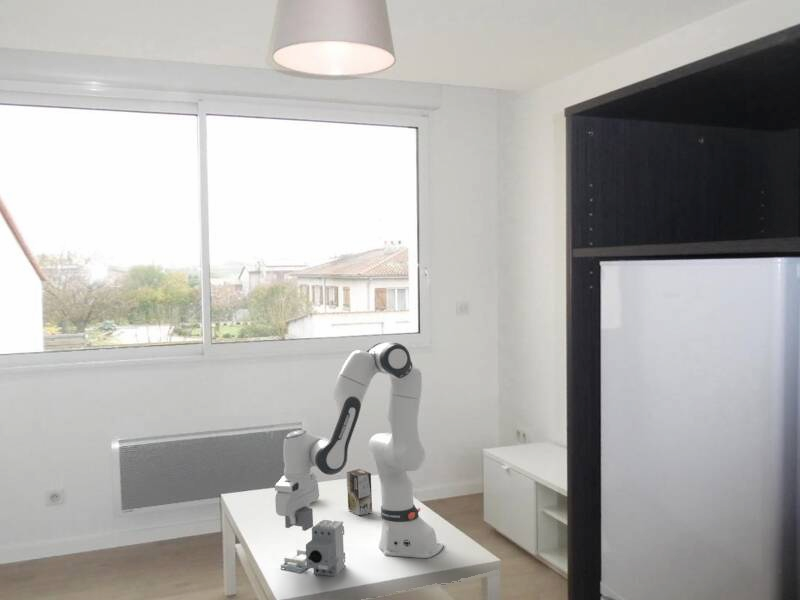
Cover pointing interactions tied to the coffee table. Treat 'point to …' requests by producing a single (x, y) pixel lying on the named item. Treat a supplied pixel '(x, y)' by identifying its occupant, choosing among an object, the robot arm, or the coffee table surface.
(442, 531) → the coffee table surface
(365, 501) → the coffee box
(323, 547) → the circuit breaker
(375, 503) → the coffee table surface
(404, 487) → the robot arm
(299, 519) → the module
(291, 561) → the panel
